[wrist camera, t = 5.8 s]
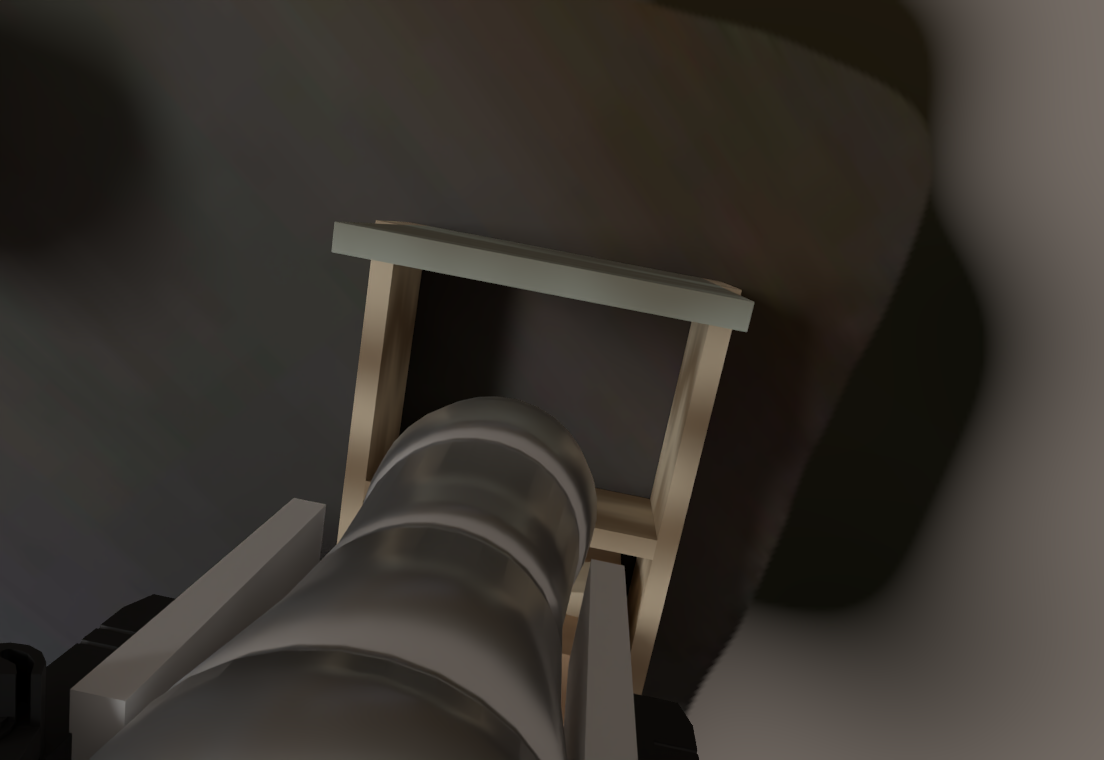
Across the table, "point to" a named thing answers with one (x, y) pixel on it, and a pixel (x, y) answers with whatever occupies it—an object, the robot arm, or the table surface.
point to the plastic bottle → (409, 613)
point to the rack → (704, 302)
